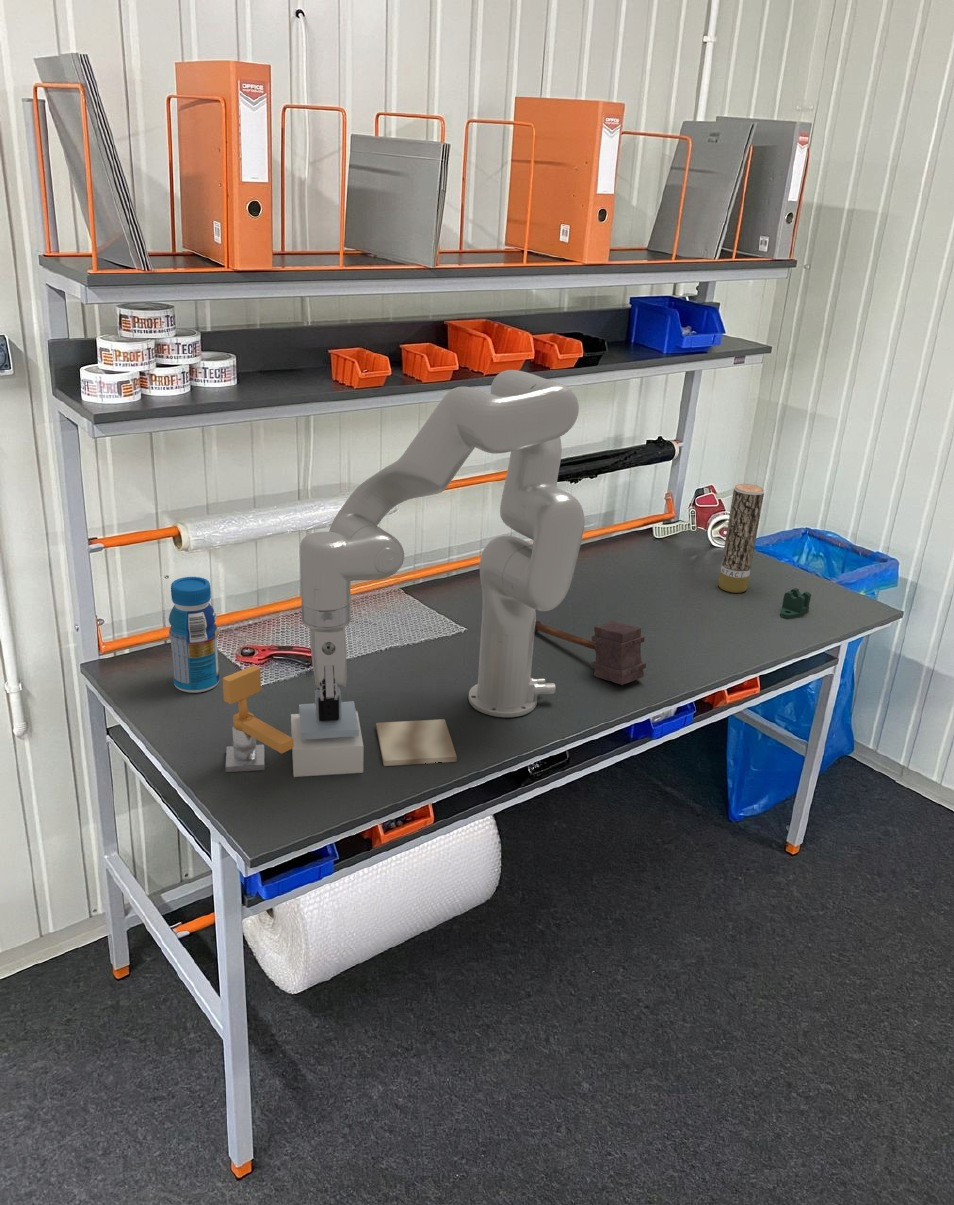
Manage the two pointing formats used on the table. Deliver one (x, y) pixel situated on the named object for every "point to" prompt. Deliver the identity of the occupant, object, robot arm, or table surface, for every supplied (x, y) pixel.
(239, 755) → the grey square flange base
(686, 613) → the table surface
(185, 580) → the beverage bottle
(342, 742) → the housing
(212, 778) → the table surface
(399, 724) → the pad
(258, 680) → the latch
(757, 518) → the paper tube
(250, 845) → the table surface
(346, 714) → the cover
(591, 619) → the table surface
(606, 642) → the hammer
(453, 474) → the robot arm
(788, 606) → the mount
